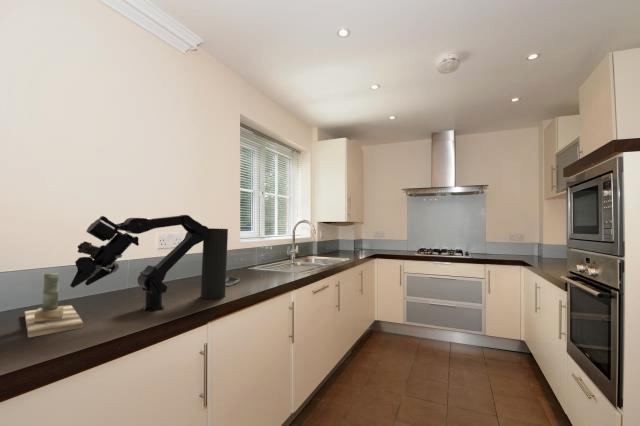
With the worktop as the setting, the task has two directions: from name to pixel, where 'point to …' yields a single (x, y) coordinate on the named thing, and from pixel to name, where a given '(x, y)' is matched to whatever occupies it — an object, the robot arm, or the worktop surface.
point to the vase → (214, 264)
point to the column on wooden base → (50, 300)
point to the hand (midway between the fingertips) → (79, 285)
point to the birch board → (53, 323)
